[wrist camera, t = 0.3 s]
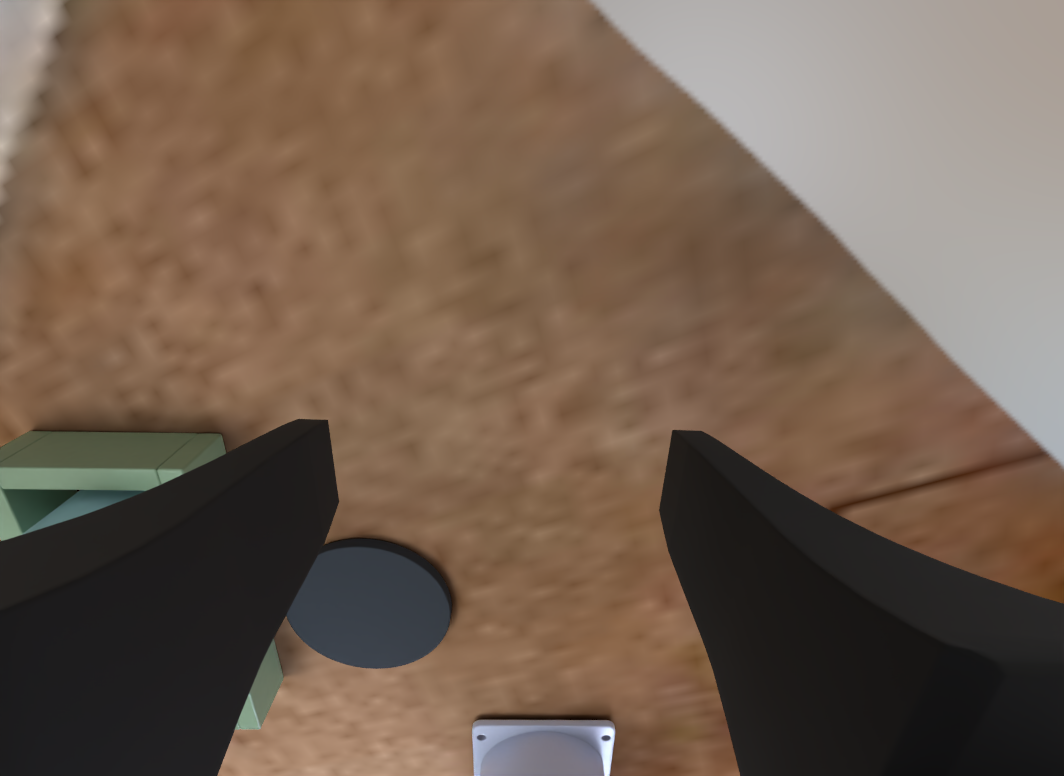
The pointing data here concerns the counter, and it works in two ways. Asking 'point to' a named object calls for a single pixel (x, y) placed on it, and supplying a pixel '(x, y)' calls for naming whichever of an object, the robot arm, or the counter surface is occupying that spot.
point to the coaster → (371, 604)
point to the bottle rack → (111, 464)
